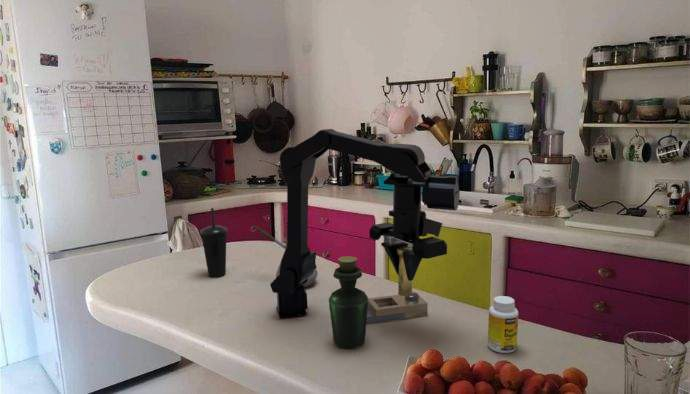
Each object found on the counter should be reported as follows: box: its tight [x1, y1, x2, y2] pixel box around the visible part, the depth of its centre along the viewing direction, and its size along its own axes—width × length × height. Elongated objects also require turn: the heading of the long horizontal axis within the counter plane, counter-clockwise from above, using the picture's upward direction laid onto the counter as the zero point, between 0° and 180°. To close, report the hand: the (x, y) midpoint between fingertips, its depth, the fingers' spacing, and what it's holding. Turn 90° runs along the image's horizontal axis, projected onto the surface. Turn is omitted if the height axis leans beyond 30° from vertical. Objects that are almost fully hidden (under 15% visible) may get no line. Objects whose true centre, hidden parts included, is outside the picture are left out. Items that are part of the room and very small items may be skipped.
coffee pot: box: [249, 224, 319, 289], centre depth 140 cm, size 21×12×15 cm, turn 57°
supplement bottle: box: [487, 295, 519, 354], centre depth 100 cm, size 6×6×10 cm
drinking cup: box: [199, 207, 228, 279], centre depth 145 cm, size 8×8×20 cm
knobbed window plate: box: [366, 291, 429, 325], centre depth 117 cm, size 18×7×4 cm, turn 104°
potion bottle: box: [328, 255, 369, 350], centre depth 103 cm, size 8×8×18 cm
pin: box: [397, 245, 414, 296], centre depth 107 cm, size 4×4×10 cm
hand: (405, 278), depth 107 cm, fingers closed on pin, 3 cm apart
